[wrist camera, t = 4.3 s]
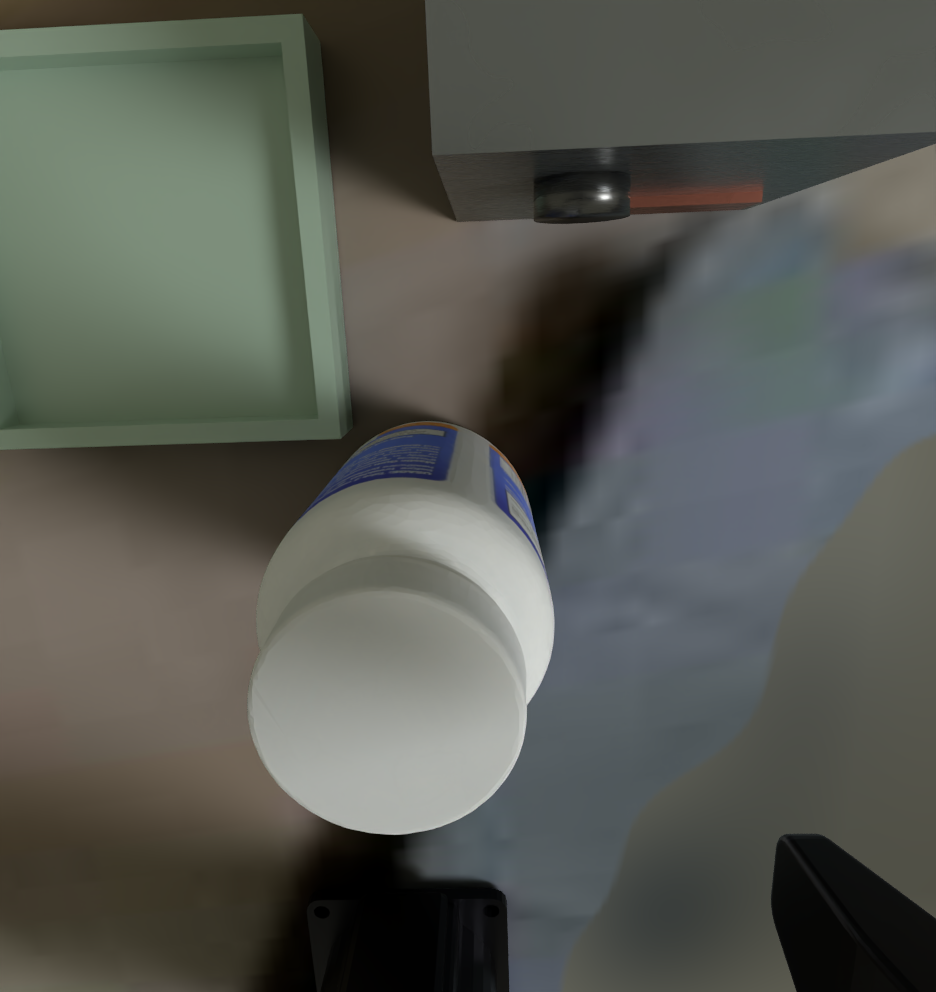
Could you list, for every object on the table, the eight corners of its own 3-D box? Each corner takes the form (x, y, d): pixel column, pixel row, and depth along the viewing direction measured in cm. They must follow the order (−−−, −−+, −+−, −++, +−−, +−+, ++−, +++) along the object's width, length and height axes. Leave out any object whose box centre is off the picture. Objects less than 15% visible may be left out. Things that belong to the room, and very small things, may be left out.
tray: (353, 427, 18) (340, 438, 17) (25, 437, 18) (-17, 450, 17) (320, 41, 16) (302, 13, 14) (-59, 61, 16) (-117, 36, 14)
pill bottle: (307, 556, 19) (137, 799, 10) (379, 383, 18) (262, 473, 8) (480, 631, 20) (474, 928, 10) (564, 468, 18) (646, 643, 9)
